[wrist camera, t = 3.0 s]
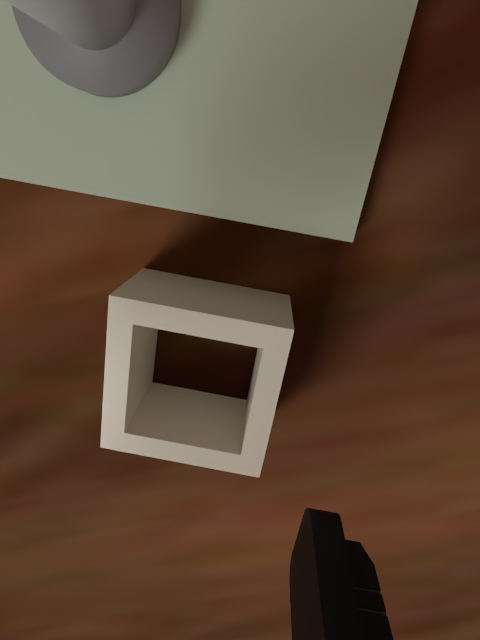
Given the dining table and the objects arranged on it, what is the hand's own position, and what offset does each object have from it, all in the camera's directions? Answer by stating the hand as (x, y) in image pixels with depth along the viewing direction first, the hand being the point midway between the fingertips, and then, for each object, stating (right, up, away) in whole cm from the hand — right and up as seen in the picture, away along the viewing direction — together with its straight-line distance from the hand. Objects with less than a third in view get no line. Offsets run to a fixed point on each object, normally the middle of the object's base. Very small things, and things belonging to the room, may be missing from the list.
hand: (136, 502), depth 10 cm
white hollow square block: (+1, +3, +9) cm, 10 cm away
